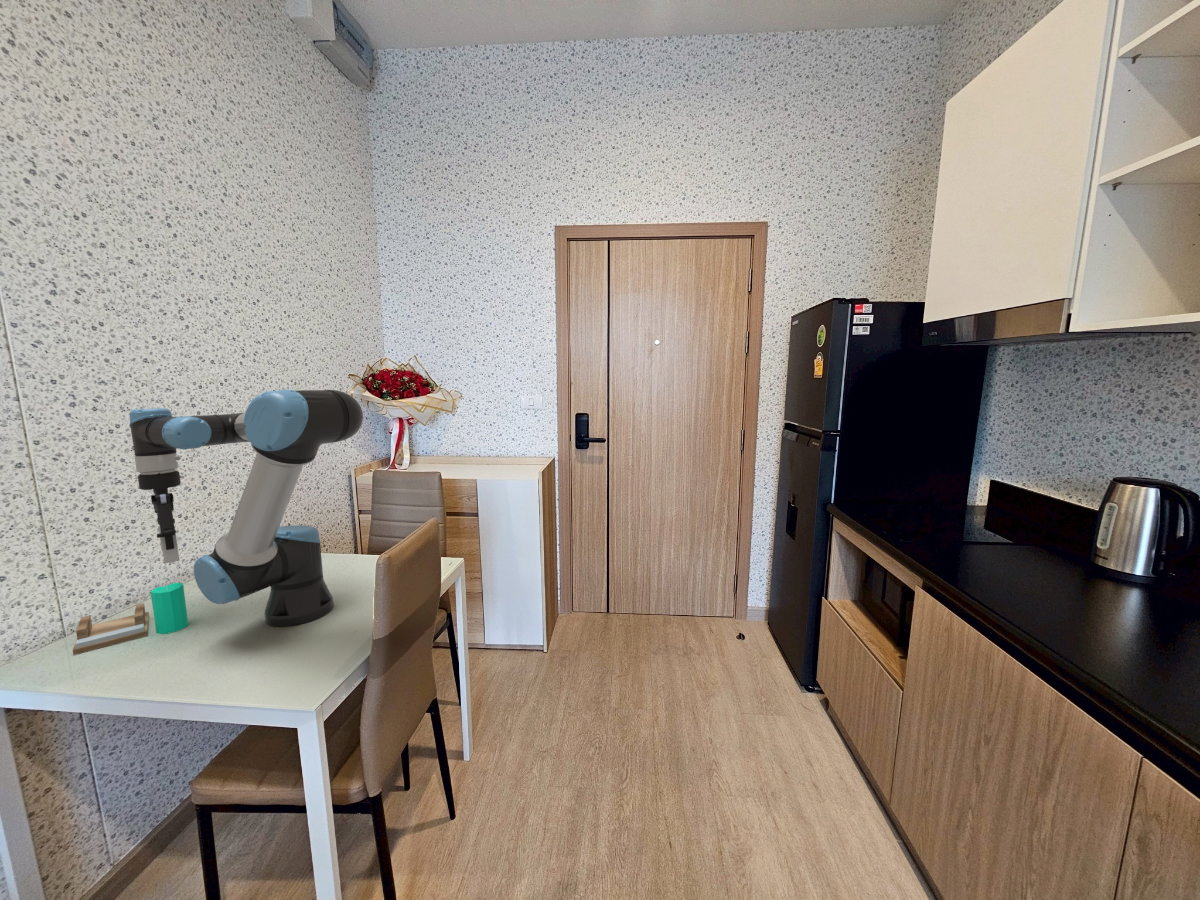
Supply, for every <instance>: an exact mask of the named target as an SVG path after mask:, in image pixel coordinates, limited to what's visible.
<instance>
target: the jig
mask: <svg viewBox="0 0 1200 900" xmlns="http://www.w3.org/2000/svg"><path fill="white" fill-rule="evenodd" d="M149 622H150V614H149V611H146V607H145V603H144V602H143V603H138V604H135V610H134V614H132V615H129V616H124V617H119V618H116V619H111V620H107V621H104V622H99V623H93V624H92V616H91V615H86V616H82V617H81V618H80V620H79V622H78V625H77V627H76V630H75V632H76V640H75V642H74V645H73V647H72V654H73V656H75V655H78V654H83V653H88V652H92V651H95V650H98V649H102V648H106V647H110V646H113V645H117V644H122V643H126V642H130V641H133V640H138V639H141V638H144V637H148V634H149V633H148V632H149ZM140 624H144V631H143V632H139V633H135V634H131V635H127V636H123V637H119V638H115V639H111V640H107V641H103V642H99V643H95V644H92V645H88V646H84V647H80V648H76V642H77V640H79V639H83V638H87V637H91V636H95V635H99V634H103V633H107V632H111V631H116V630H120V629H124V628H128V627H132V626H136V625H140Z"/></svg>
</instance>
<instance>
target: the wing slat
mask: <svg viewBox="0 0 1200 900" xmlns="http://www.w3.org/2000/svg"><path fill="white" fill-rule="evenodd" d="M143 631H144V624H140V625H136V626H132V627H128V628H124V629H120V630H116V631H111V632H107V633H103V634H99V635H95V636H91V637H87V638H83V639H79V640H77V639H76V640H77V642H76V641H75V642H76V648H80V647H84V646H88V645H92V644H95V643H99V642H103V641H107V640H111V639H115V638H119V637H123V636H127V635H131V634H135V633H139V632H143Z"/></svg>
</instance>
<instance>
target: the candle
mask: <svg viewBox="0 0 1200 900" xmlns="http://www.w3.org/2000/svg"><path fill="white" fill-rule="evenodd" d="M185 595H186V594H185V588H184V583H182V582H172V583H170V584H168V582H167V581H166V582H165V585H162V586H156V587H155V588H153V589H152V590H151V591H150V598H151V604H152V605H151V606H152V611H153V613H152V614H153V619H154V625H155V633H156V634H158V635H167V634H172V633H175V632H179V631H181V630H184V629H185V628H187V627H188V626H189V618H188V610H187V603H186V596H185Z"/></svg>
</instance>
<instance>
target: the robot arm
mask: <svg viewBox="0 0 1200 900" xmlns="http://www.w3.org/2000/svg"><path fill="white" fill-rule="evenodd" d="M363 421H364V413H363V408H362V406H361V405H360V403H359V402H358V401H357V399H356V398H354V397H353V396H352V395H351V394H348V393H346V392H345V391H341V390H337V389H336V390H335V389H314V390H313V389H311V390H310V389H309V390H307V389H306V390H305V389H304V390H303V389H302V390H298V389H297V390H294V389H287V388H285V389H278V390H270V391H265V392H262V393H260V394H258V395H257V396H255V397H254V398H253V399H252V400H251V401H250V403H249V404H248V406H247V408H246V410H245V412H238V413H227V414H224V413H223V414H205V415H187V416H186V415H184V416H183V415H181V416H173V415H172V411H171V410H170V409H169V408H165V407H162V408H160V407H159V408H134V409H132V410H131V411H130V412H129V423H128V424H129V428H130V434H131V439H132V445H133V452H134V463H135V468H136V472H137V473H138V475H137V481H138V487H139V489H140V490H143V491H151V490H152V491H153V495H152V494H151V495H150V500H151V504H152V505H153V510H154V513H155V514H156V517H157V518H156V521H157V524H158V525H157V526H158V533H157V534H156V538H157V539H159V542H160V548H161V551H162V558H163V564H170V563H175V562H179V561H180V555H179V548H178V547H179V546H178V541H177V539H178V538H177V530H176V529H175V523H176V520H175V519H176V518H174V515H173V511H174V510H175V507H174V499H175V498H174V494H173V492H169V488H176V487H178V486H180V485H181V484H182V482H181V475H180V474H181V473H180V471H179V470H177V469H179V462H178V461H180V460H181V456H180V455H178V456H177V449H178V450H179V449H180V450H192V449H193V450H194V449H199V448H202V447H210V446H218V445H219V446H220V445H227V444H239V443H250V445H251V448H252V449H253V451H254V452H255V457H254V461H253V463H252V467H251V469H250V471H249V475H248V476H247V480H246V483H245V485H244V489H243V490H242V491H243V492H242V493H241V497H240V501H239V502H238V505H237V509H236V510H235V514H234V515H233V516H234V517H233V520H232V522H231V526H230V528H229V531H228V533H227V532H226V533H225V534H223V535H222V536H220V537H219V538H218V539H217V541H216V543H215V546H214V548H213V551H212V553H210V554H204V555H202V556H201V557H199V558H197V559H196V560H195V562H194V565H193V576H194V579H195V582H196V584H197V587H198V589H199V590H200V592H201V593H202V595H203V596H204V597H205V598H206V599H207V600H208V601H209V602H212V604H213V603H214V604H216V605H225V604H228V603H232V602H233V601H234V602H236V601H239V600H240V599H243V598H245V597H247V596H250V595H252V594H255V593H257V592H261V591H262V590H265V589H267V588H270V592H269V596H268V600H267V603H266V606H265V609H264V619H265V620H264V621H265V623H266V624H267V625H270V626H271V627H273V626H274V627H291V626H296V625H301V624H305V623H309V622H312V621H316V619H320V618H321V617H323V616H326V615H327V614H329V612H331V610H332V609H333V608H334V598H333V595H332V593H331V592H330V589H329V587H328V586H327V583H326V581H325V579H324V572H323V571H324V569H323V560H322V549H321V543H322V541H321V539H320V538H321V537H320V533H319V530H318V528H316V527H314V526H310V525H284V526H283V525H282V526H280V525H281V523H282V520H283V518H284V516H285V512H286V509H287V508H288V505H289V502H290V500H291V498H292V495H293V493H294V489H295V488H296V484H298V483H297V482H298V479H299V477H300V474H301V473H302V469H303V467H304V466H305V465H308V464H310V463H312V462H313V461H314V460H315V459H316V456H317V453H318V451H319V449H320V446H321V445H325V444H326V445H327V444H333V443H338V442H342V441H346V440H348V439H350V438H352V437H353V436H355V435H356V434H357V433H358V431H360V429H361V427H362V425H363ZM139 473H140V474H139Z"/></svg>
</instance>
